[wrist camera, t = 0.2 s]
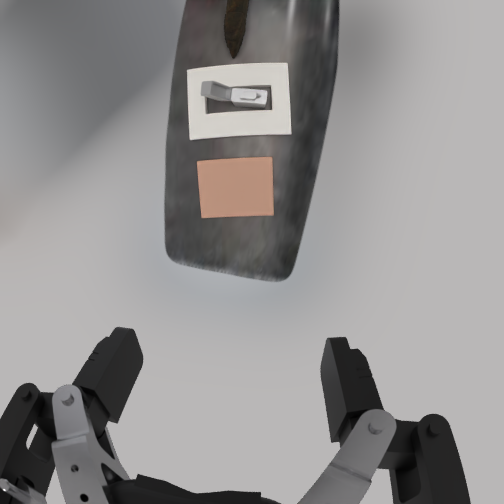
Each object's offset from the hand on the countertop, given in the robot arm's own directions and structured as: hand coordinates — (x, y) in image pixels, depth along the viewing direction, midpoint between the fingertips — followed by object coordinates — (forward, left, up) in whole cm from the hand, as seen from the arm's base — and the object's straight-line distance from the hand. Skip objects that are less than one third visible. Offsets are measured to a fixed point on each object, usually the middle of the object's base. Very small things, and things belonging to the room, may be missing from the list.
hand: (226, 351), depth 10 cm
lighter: (-14, -1, -29) cm, 32 cm away
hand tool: (-30, 0, -29) cm, 42 cm away
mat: (-2, -2, -29) cm, 29 cm away
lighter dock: (-14, -1, -29) cm, 32 cm away
